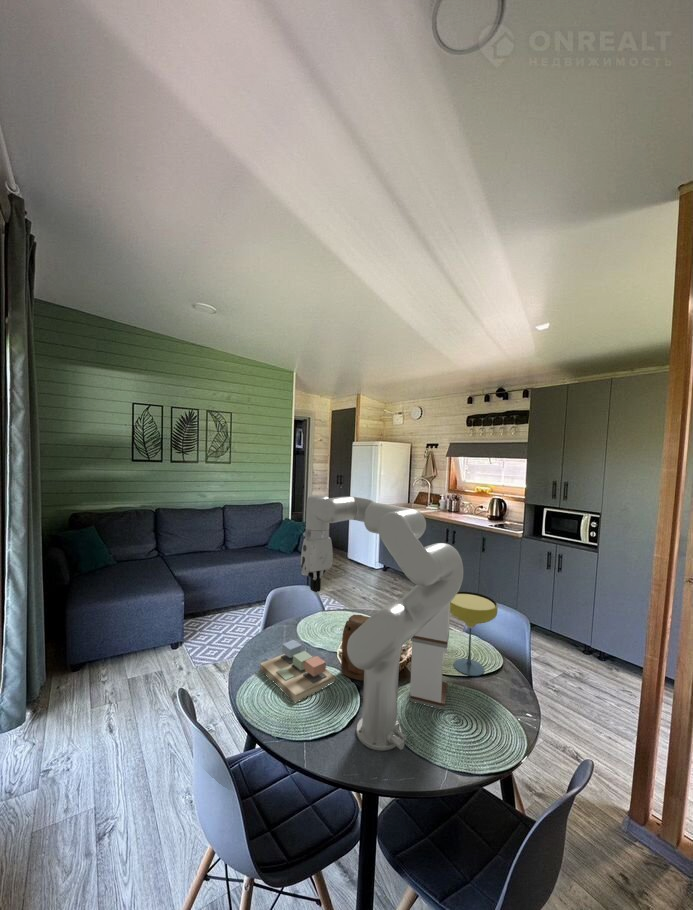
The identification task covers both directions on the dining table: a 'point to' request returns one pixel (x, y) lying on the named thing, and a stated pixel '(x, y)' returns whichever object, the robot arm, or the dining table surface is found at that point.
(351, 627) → the dark brown curved piece
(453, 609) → the cocktail glass
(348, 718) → the dining table surface
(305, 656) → the sage button
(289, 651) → the grey square block
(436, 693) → the white square pillar
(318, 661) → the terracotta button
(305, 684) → the wooden sorting board
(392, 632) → the robot arm
